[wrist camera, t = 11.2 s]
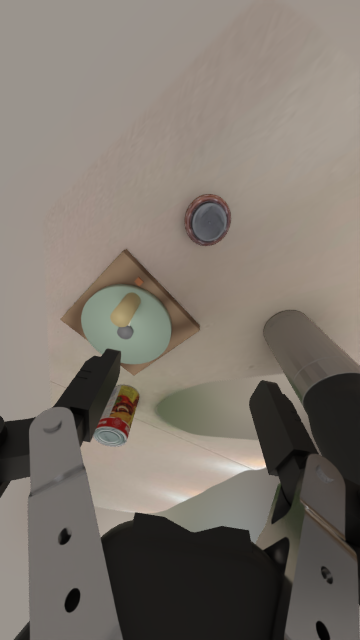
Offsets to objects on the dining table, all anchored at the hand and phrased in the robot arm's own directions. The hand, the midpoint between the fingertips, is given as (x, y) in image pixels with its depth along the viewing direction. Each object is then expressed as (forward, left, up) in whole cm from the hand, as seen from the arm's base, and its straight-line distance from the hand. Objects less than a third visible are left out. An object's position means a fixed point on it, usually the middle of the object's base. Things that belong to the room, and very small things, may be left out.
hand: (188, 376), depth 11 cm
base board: (-1, +18, -28) cm, 33 cm away
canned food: (-16, +38, -28) cm, 50 cm away
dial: (-1, +18, -26) cm, 32 cm away
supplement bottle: (+4, -6, -28) cm, 29 cm away
